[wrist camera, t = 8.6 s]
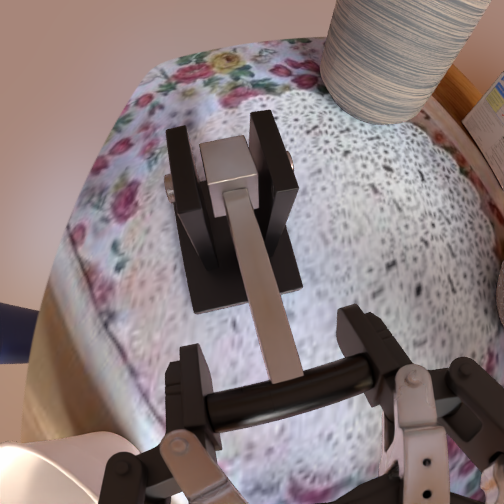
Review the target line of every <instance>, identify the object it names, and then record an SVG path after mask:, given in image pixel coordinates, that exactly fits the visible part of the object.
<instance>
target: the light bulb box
mask: <svg viewBox="0 0 504 504" xmlns="http://www.w3.org/2000/svg"><path fill="white" fill-rule="evenodd" d="M462 123H463V124H464V126H465V127H466V129H467V130H468V132H469V133H470V135H471V136H472V138H473V139H474V141H475V142H476V144H477V145H478V147H479V148H480V150H481V152H482V153H483V155H484V157H485V158H486V160H487V162H488V163H489V165H490V167H491V168H492V170H493V172H494V174H495V176H496V177H497V179H498V181H499V183H500V185H501V187H502V188H503V190H504V71H503V72H502V73H501V74H500V76H499V77H498V78H497V79H496V81H495V82H494V83H493V84H492V86H491V87H490V88H489V89H488V90H487V92H486V93H485V94H484V95H483V97H482V98H481V99H480V100H479V101H478V103H477V104H476V105H475V106H474V107H473V109H472V110H471V111H470V112H469V113H468V114H467V116H466V117H465V118H464V119H463V120H462Z"/></svg>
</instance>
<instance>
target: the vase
mask: <svg viewBox="0 0 504 504" xmlns="http://www.w3.org/2000/svg"><path fill="white" fill-rule="evenodd" d="M490 2H491V0H336V4H335V8H334V12H333V16H332V20H331V24H330V28H329V31H328V35H327V39H326V42H325V46H324V50H323V54H322V57H321V62H320V73H321V77H322V80H323V83H324V85H325V86H326V88H327V90H328V91H329V93H330V94H331V96H332V98H333V99H334V101H335V102H336V103H337V104H338V105H339V106H340V107H341V108H342V109H343V110H344V111H346V112H347V113H348V114H350V115H351V116H353V117H355V118H357V119H359V120H361V121H364V122H367V123H371V124H378V125H384V124H397V123H402V122H405V121H408V120H410V119H412V118H413V117H415V116H416V115H417V114H418V113H419V112H420V110H421V109H422V108H423V106H424V105H425V103H426V102H427V100H428V99H429V97H430V96H431V95H432V93H433V92H434V90H435V89H436V87H437V86H438V84H439V83H440V81H441V80H442V78H443V77H444V75H445V74H446V72H447V71H448V69H449V68H450V66H451V65H452V63H453V62H454V60H455V58H456V57H457V55H458V54H459V52H460V51H461V49H462V48H463V46H464V44H465V43H466V41H467V40H468V38H469V37H470V35H471V33H472V32H473V30H474V29H475V27H476V25H477V24H478V22H479V20H480V19H481V17H482V15H483V14H484V12H485V10H486V9H487V7H488V5H489V4H490Z"/></svg>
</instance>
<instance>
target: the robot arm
mask: <svg viewBox="0 0 504 504" xmlns="http://www.w3.org/2000/svg"><path fill="white" fill-rule="evenodd" d="M336 337H337V342H338V345H339V347H340V349H341V351H342V353H343V355H344V357H345V358H346V357H349V356H351V355H354V354H357V353H362V354H364V355H365V356H366V358H367V359H368V361H369V363H370V365H371V368H372V371H373V376H374V386H373V388H372V389H371V390H369V391H367V392H364V394H365V396H366V398H367V400H368V402H369V403H370V405H371V407H375V406H377V405H379V404H380V406H381V407H382V409H383V412H382V455H381V461H380V465H379V471H378V477H377V478H375V479H372V480H370V481H368V482H365V483H363V484H360V485H359V486H357V487H356V488H354V489H353V490H351V491H350V492H348V493H346V494H345V495H343V496H342V497H340V498H338V499H337V500H335V501H333V502H328V503H317V504H504V388H503V387H502V386H501V385H500V384H499V383H498V382H497V381H496V380H495V379H494V378H492V377H491V376H490V375H489V374H488V373H487V372H486V371H485V370H484V369H483V368H482V367H481V366H480V365H478V364H477V363H476V362H475V361H474V360H472V359H470V358H467V357H459V358H457V359H455V360H454V361H453V362H452V363H451V365H450V367H449V368H443V369H436V370H426V369H425V368H424V367H422V366H420V365H416V364H413V363H412V362H411V360H410V359H409V357H408V356H407V355H406V353H405V352H404V350H403V349H402V348H401V346H400V345H399V343H398V342H397V341H396V339H395V338H394V336H392V334H391V332H390V331H389V329H387V327H386V325H385V324H384V323H383V321H382V320H381V319H380V318H379V317H377V316H376V315H374V314H373V313H371V312H368V313H365V314H364V313H363V312H362V310H361V309H360V307H359V306H358V305H357V304H352V305H349V306H345V307H342V308H339V309H338V311H337V330H336ZM165 386H166V387H165V394H166V396H165V406H166V433H165V436H164V437H163V439H162V440H161V443H160V444H159V445H158V446H156V447H155V448H153V449H151V450H148V451H146V452H143V453H141V454H138V455H136V456H135V455H134V454H132V453H130V452H118V453H116V454H114V455H112V456H111V457H110V458H109V460H108V461H107V464H106V467H105V472H104V477H103V481H102V486H101V491H100V496H99V501H98V504H170V503H171V496H172V495H175V494H177V493H180V492H182V491H183V493H184V494H185V496H186V497H187V499H188V501H189V504H249V503H248V502H247V501H246V500H245V499H244V497H243V496H242V495H241V494H240V493H239V491H238V490H237V489H236V488H235V486H234V485H233V484H232V483H231V481H230V480H229V479H228V477H227V476H226V475H225V473H224V472H223V471H222V469H221V468H220V467H219V465H218V464H217V458H216V452H215V451H218V450H222V444H221V438H220V433H215V432H214V430H213V429H212V427H211V424H210V421H209V418H208V414H207V409H206V400H205V399H206V395H207V394H209V393H213V386H212V379H211V375H210V371H209V368H208V365H207V363H206V360H205V358H204V355H203V353H202V350H201V348H200V345H199V344H198V343H197V344H192V345H187V346H182V347H180V361H174V362H170V364H169V366H168V368H167V370H166V373H165ZM446 433H447V434H448V435H449V436H450V437H451V438H452V439H453V441H454V442H455V443H456V444H457V445H458V446H459V447H460V448H461V450H462V451H463V452H464V453H465V454H466V455H467V456H468V458H469V459H470V460H471V461H472V462H473V463H474V464H475V465H476V467H477V468H478V469H479V470H480V471H481V472H482V475H481V482H480V488H481V489H482V490H484V492H485V495H486V500H485V503H483V502H480V501H476V500H473V499H470V498H467V497H464V496H461V495H458V494H455V493H452V492H450V482H449V462H448V450H447V439H446Z"/></svg>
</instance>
